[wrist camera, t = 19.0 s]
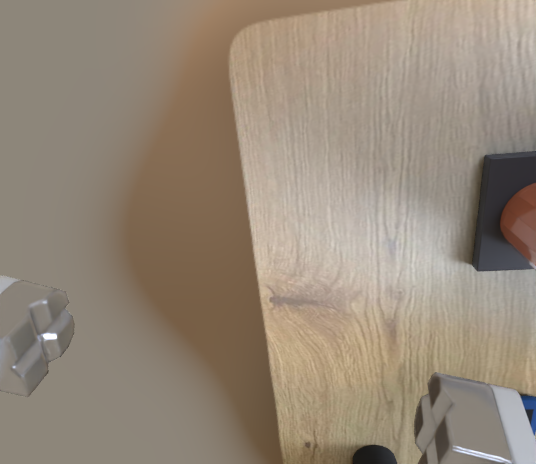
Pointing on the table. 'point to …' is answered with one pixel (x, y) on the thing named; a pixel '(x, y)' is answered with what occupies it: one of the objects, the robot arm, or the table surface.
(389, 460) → the drinking cup
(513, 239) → the cup
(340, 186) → the table surface
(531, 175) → the coffee maker
